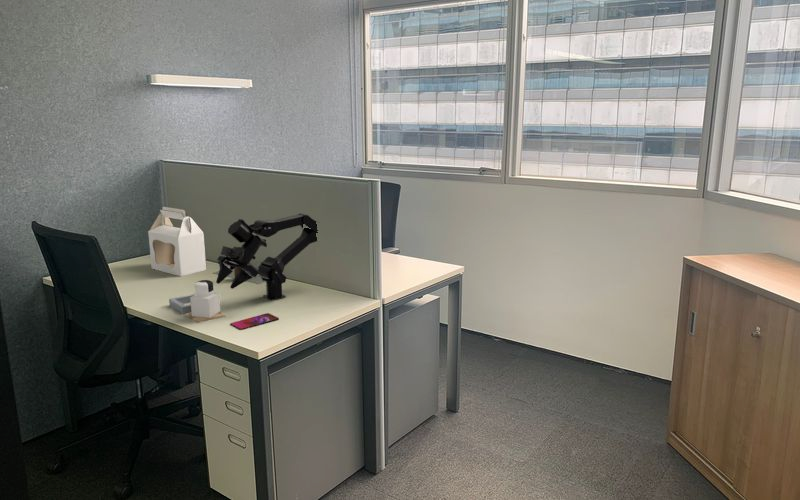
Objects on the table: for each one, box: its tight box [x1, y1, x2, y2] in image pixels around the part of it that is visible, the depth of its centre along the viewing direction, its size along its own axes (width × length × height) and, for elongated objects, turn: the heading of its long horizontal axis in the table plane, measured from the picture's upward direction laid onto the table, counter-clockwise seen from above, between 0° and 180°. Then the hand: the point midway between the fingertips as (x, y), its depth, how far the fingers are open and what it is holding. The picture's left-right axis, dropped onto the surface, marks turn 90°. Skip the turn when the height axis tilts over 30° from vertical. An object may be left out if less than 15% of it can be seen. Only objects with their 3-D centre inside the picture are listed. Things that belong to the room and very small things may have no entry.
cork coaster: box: [185, 311, 226, 323], centre depth 208 cm, size 10×10×1 cm
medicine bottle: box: [190, 279, 221, 318], centre depth 207 cm, size 7×7×12 cm
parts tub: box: [168, 293, 196, 315], centre depth 218 cm, size 13×13×2 cm
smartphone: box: [229, 312, 280, 331], centre depth 202 cm, size 8×1×15 cm
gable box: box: [147, 206, 207, 277], centre depth 265 cm, size 22×13×28 cm, turn 55°
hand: (224, 285), depth 212 cm, fingers open, 9 cm apart
